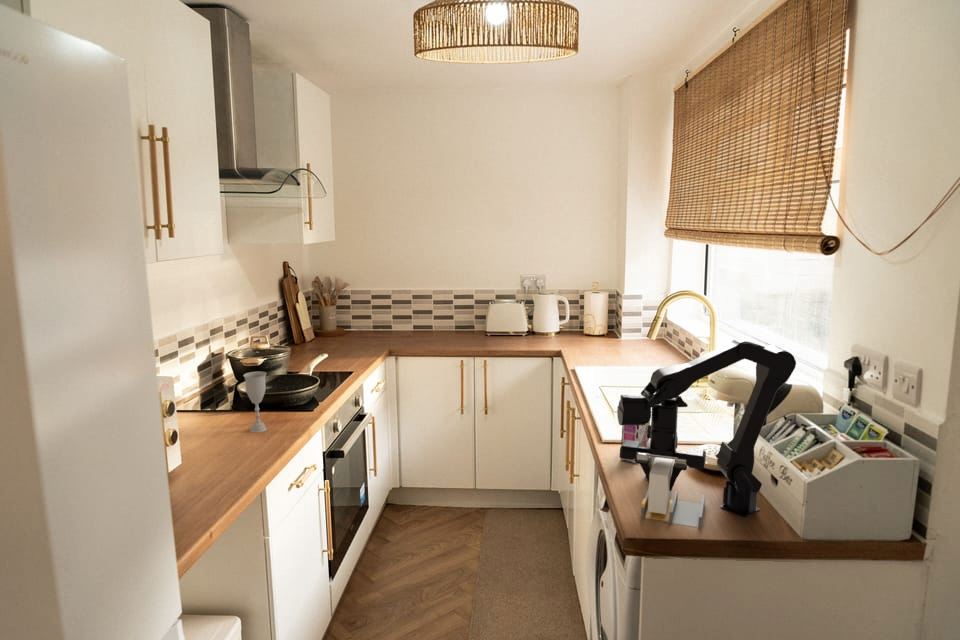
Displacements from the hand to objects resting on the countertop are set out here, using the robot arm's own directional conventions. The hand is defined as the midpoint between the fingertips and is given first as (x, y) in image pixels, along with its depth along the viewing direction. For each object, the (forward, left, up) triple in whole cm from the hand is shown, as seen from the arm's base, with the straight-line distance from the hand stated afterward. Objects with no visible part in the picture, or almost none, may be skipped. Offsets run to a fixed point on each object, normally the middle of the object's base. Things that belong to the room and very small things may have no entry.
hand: (660, 489), depth 158 cm
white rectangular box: (0, 0, -3) cm, 3 cm away
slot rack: (-3, -1, -5) cm, 6 cm away
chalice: (+114, +52, -5) cm, 125 cm away
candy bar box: (+26, -23, -5) cm, 35 cm away
